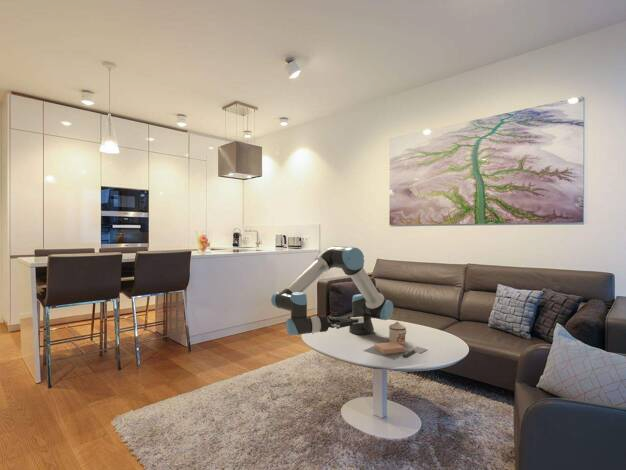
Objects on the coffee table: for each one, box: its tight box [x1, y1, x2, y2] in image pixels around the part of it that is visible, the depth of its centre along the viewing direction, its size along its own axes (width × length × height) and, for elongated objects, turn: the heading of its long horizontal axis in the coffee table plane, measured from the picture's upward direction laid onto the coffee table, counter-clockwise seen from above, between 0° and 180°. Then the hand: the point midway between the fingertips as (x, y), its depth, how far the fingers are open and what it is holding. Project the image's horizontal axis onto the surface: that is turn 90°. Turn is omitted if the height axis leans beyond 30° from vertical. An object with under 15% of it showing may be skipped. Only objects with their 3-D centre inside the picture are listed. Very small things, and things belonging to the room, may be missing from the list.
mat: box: [363, 345, 410, 360], centre depth 179 cm, size 18×16×1 cm
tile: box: [374, 342, 405, 355], centre depth 179 cm, size 3×9×12 cm
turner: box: [402, 346, 428, 359], centre depth 177 cm, size 20×6×2 cm, turn 138°
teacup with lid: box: [388, 321, 407, 345], centre depth 195 cm, size 12×9×12 cm
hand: (362, 319), depth 174 cm, fingers closed
